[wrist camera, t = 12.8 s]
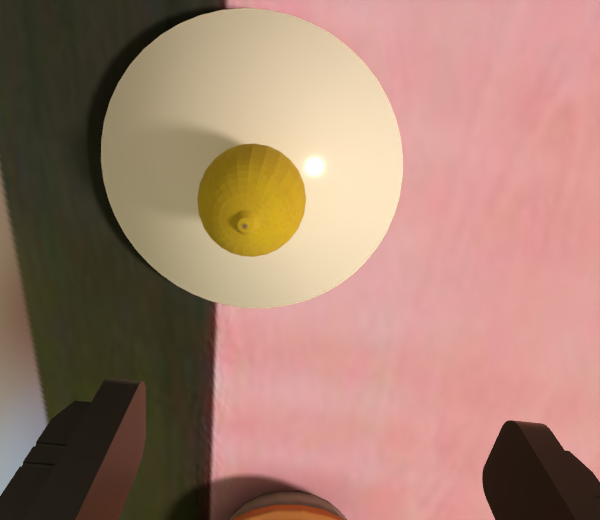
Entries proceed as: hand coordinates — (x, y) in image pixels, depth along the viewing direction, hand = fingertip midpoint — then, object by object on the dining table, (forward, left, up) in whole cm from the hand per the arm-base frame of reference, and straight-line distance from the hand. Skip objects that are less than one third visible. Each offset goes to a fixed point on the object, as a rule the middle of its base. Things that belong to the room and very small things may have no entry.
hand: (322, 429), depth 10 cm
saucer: (0, -3, -20) cm, 20 cm away
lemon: (0, -3, -19) cm, 19 cm away
